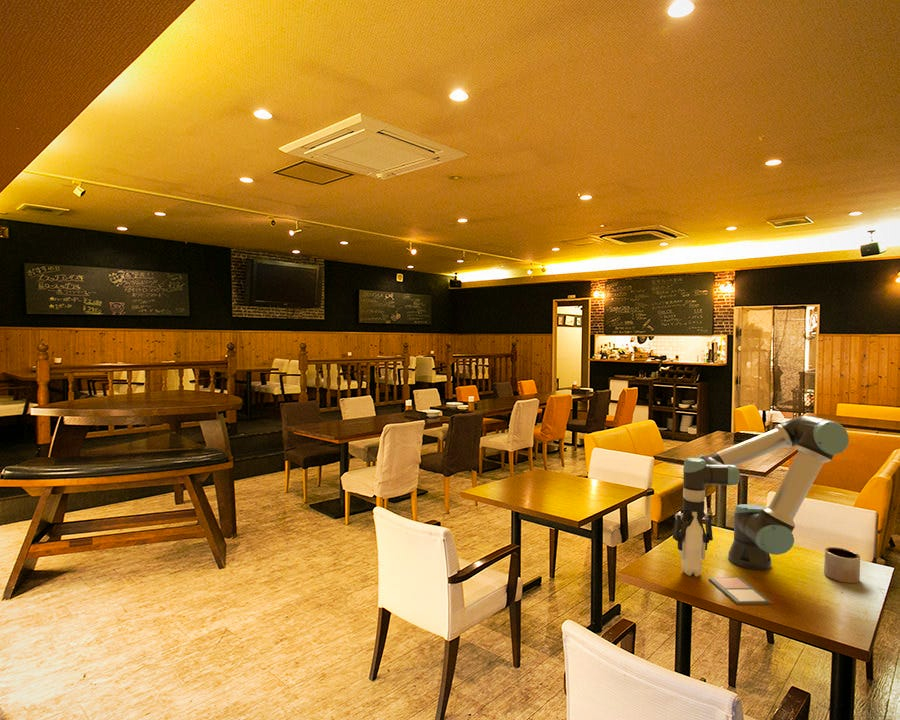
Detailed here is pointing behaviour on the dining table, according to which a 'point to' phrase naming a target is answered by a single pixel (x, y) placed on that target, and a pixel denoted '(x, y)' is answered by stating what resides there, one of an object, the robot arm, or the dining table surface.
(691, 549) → the water bottle
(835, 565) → the planter
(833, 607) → the dining table surface
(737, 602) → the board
